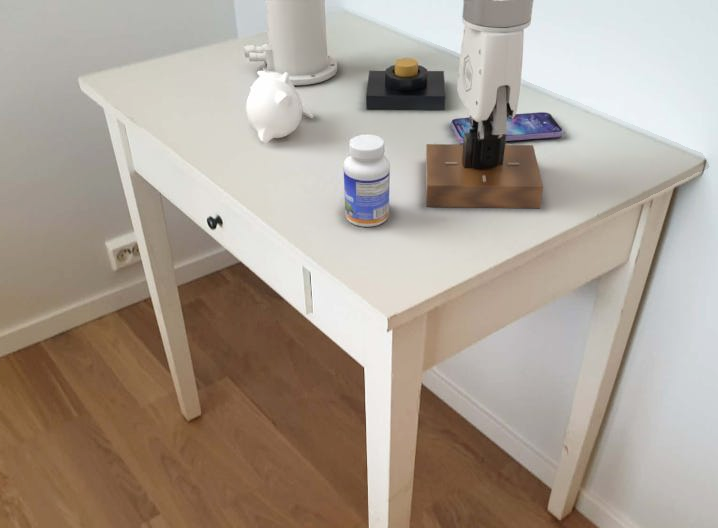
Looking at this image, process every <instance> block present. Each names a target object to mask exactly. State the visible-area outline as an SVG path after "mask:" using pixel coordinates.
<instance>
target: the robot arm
mask: <svg viewBox="0 0 718 528" xmlns="http://www.w3.org/2000/svg"><path fill="white" fill-rule="evenodd" d="M462 2H463V3H462V17H461V21H462V22H461V23H463V25H464V28H463V34H462V40H461V48H460V55H459V56H460V57H459V66H458V74H457V84H456V90H457V95H458V97H459V99H460V100H461V102H462V104H463V106H464V108H465V109H466V111H467V112H468V114H469V117H470V127H471V128H474V129H470V130H469V133H474V132H478V133H477V137H474V147H473V159H472V166H473V168H474V169H480V168H491V167H496V166H497V165H498V159H499V151H500V142H501V138H502V135H505V134H506V131H507V118H508V119H512V118H514V116H515V115H516V114H517V111H518V106H519V100H520V93H521V92H520V91H521V85H522V83H521V82H522V70H523V59H524V58H523V56H524V39H525V38H524V33H525V32H524V31H525V29H527V28H528V27H530V26H531V23H532V15H533V8H534V7H533V6H534V0H463V1H462ZM264 6H265V17H266V26H267V34H268V42H267V43H263V45H250V44H249V45H247V44H246V45H244V48H243V49H244V51H243V52H244V58H249V62H263V64H262V71H265V72H266V73H270V72H276V73H280V74H284V73H285V72H288V73H289V79H290V81H291V82H292V83H293V85H294V86H307V85H314V84H319V83H322V82H325V81H328V80H329V79H331V78H333V77H334V76H335V75H336V74H337V72H338V62H337V60H336V59H335V58H334V57H332V56H331V55H328V42H327V40H328V39H327V21H326V20H327V19H326V18H327V17H326V3H325V0H264Z"/></svg>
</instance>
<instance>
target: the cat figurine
mask: <svg viewBox="0 0 718 528" xmlns="http://www.w3.org/2000/svg"><path fill="white" fill-rule="evenodd" d="M257 75H258V78H256V80H255V81H254V82H253V84H252V85H251V86H250V87H249V89H250V93H249V94H248V97H247V100H246V104H245V111H246V116H247V120H248V122H249V124H250V125H251V127H252V128H253V129H254V130H255V131H256V133H257V134H258V139H259V140H260V141H261V143H264V144H267V143H268V142H270V141H271V140H272V139H280V138H284V137H286V136H289V135H290V134H291V133H293V132H294V131H295V130H296V129H297V128H298V126H299V125H300V122H301V120H302V117H303V115H304V116H306V117H307V118H309V119H311V120H313V118H314V115H313V114H312V112H311V111H310V110H308V109H307V108H306V107H304V106H303V103H302V99H301V97H300V95H299V94H298V92H297V91H296V87H295V85H293V83H292V82H291V81H290V79H289V73H288V72H285V73H284V74H280V73H276V72H270V73H266V72H265V71H263V69H262V70H258V71H257Z"/></svg>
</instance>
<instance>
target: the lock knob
mask: <svg viewBox="0 0 718 528" xmlns="http://www.w3.org/2000/svg"><path fill="white" fill-rule="evenodd" d="M477 133H478V132H474V133H464V141H463V143H462V145H463V154H462V164H463V166H464V168H470V167H473V166H472V159H473V147H474V137H477ZM506 142H507V141H506V134H505V135H502V138H501V142H500V151H499V159H498V165H503V159H504V151H505V145H506Z"/></svg>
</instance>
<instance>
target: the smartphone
mask: <svg viewBox="0 0 718 528" xmlns="http://www.w3.org/2000/svg"><path fill="white" fill-rule="evenodd" d="M450 122H451V123H450V127H451V130H452V131H453V133H454V135H455V136H456V138H457V140H458V141H459V143H460V144H463V141H464V133H469V130H470V129H474V128H471V127H470V116H469V117H457V118H453V119H452V120H451V121H450ZM563 132H564V129H563V127H562V126H561V125H560V124H559V123H558V121H557V120H556V119H555V118H554V116H553V115H552V114H551V113H549V112H546V111H539V112H525V113H516V115H515V116H514V118H512V119H508V118H507V131H506V142H510V141H522V140H534V139H550V138H560V137H562V136H563Z"/></svg>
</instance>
